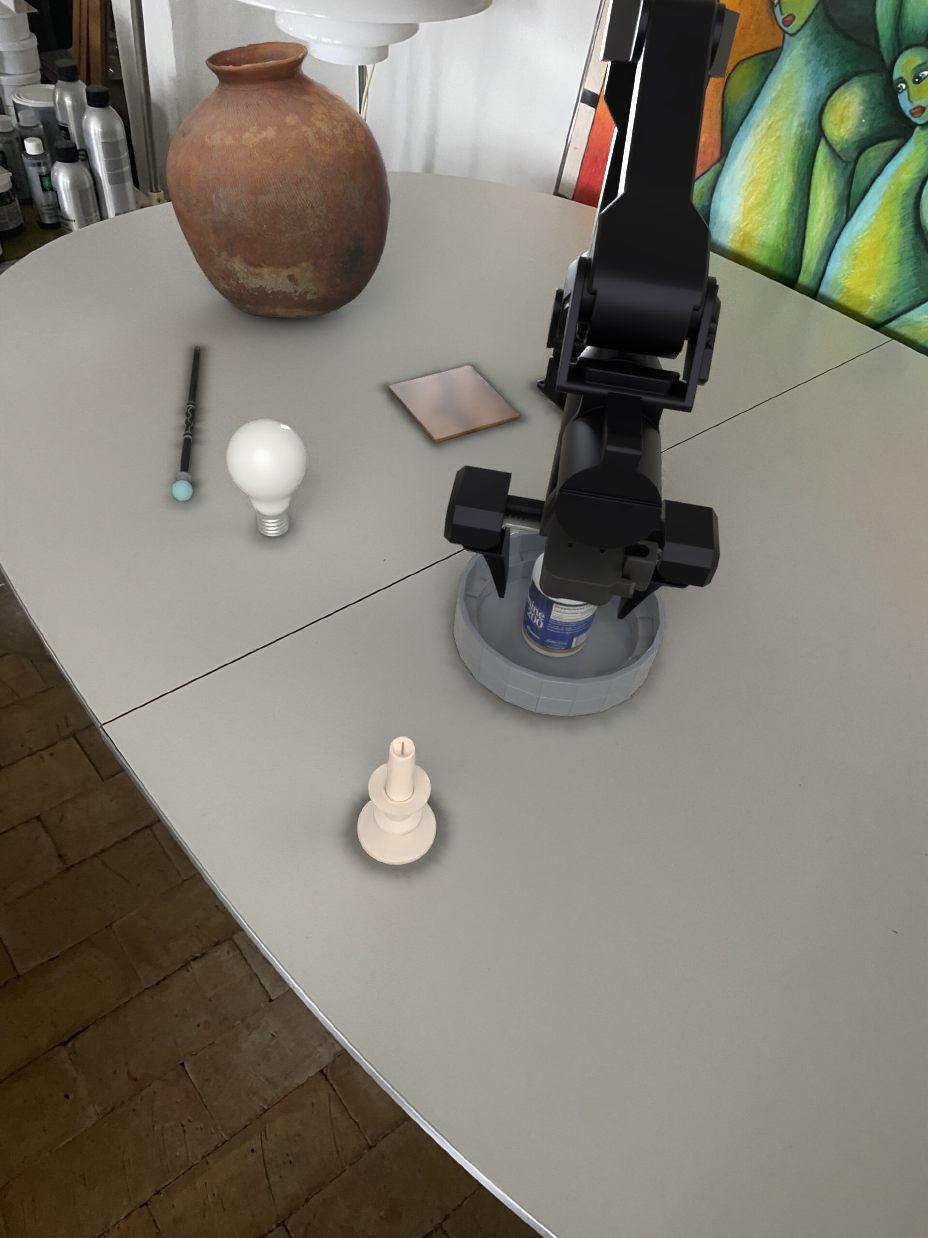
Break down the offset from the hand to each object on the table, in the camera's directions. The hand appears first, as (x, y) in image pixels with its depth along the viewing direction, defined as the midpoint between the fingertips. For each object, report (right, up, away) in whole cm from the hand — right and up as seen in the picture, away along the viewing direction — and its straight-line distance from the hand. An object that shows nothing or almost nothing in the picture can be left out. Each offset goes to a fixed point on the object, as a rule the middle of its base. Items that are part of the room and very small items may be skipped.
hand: (560, 604), depth 67 cm
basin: (0, -3, +3) cm, 4 cm away
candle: (-12, -15, -9) cm, 22 cm away
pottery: (-28, +36, +34) cm, 57 cm away
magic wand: (-34, +18, +17) cm, 42 cm away
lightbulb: (-24, +6, +8) cm, 26 cm away
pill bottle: (0, -2, +3) cm, 4 cm away
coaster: (-9, +21, +23) cm, 32 cm away
